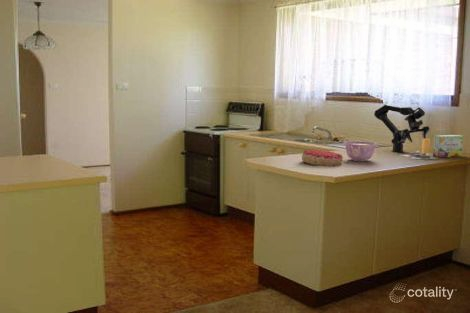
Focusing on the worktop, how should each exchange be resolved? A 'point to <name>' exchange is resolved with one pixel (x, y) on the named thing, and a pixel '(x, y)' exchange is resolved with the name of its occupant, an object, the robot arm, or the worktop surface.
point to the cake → (321, 157)
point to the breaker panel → (419, 156)
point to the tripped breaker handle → (425, 146)
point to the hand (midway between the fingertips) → (418, 141)
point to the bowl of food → (360, 150)
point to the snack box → (447, 145)
